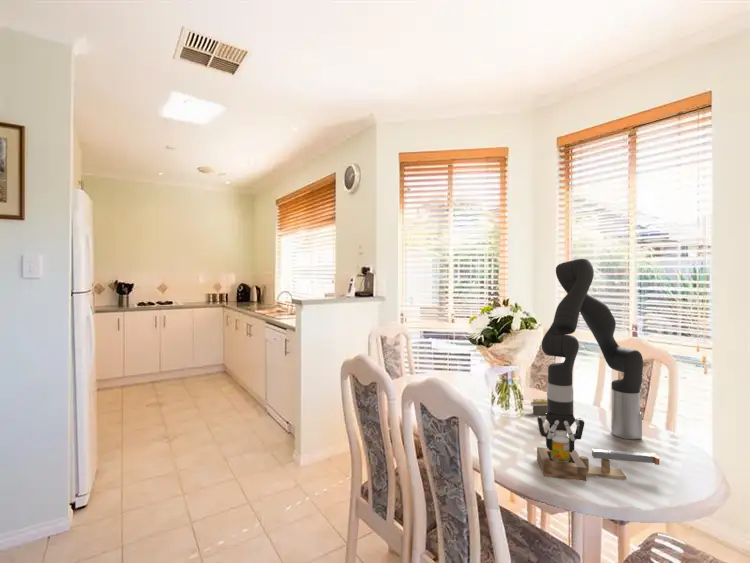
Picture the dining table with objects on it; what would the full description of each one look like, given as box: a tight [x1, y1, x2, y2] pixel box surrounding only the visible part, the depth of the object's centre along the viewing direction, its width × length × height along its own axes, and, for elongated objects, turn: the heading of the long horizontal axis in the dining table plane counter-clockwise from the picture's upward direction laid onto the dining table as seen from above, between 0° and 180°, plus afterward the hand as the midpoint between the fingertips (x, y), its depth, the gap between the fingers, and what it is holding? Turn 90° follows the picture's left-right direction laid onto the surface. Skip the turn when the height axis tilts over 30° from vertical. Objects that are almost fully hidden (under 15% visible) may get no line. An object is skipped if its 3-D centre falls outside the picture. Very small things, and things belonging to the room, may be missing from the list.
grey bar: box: [591, 448, 660, 466], centre depth 122 cm, size 18×4×2 cm, turn 77°
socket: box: [536, 446, 587, 482], centre depth 127 cm, size 12×12×4 cm
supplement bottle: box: [551, 430, 569, 462], centre depth 127 cm, size 5×5×10 cm
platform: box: [530, 398, 547, 415], centre depth 177 cm, size 12×18×7 cm, turn 91°
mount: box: [579, 455, 627, 480], centre depth 124 cm, size 12×5×4 cm, turn 77°
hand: (560, 450), depth 127 cm, fingers closed on supplement bottle, 5 cm apart
